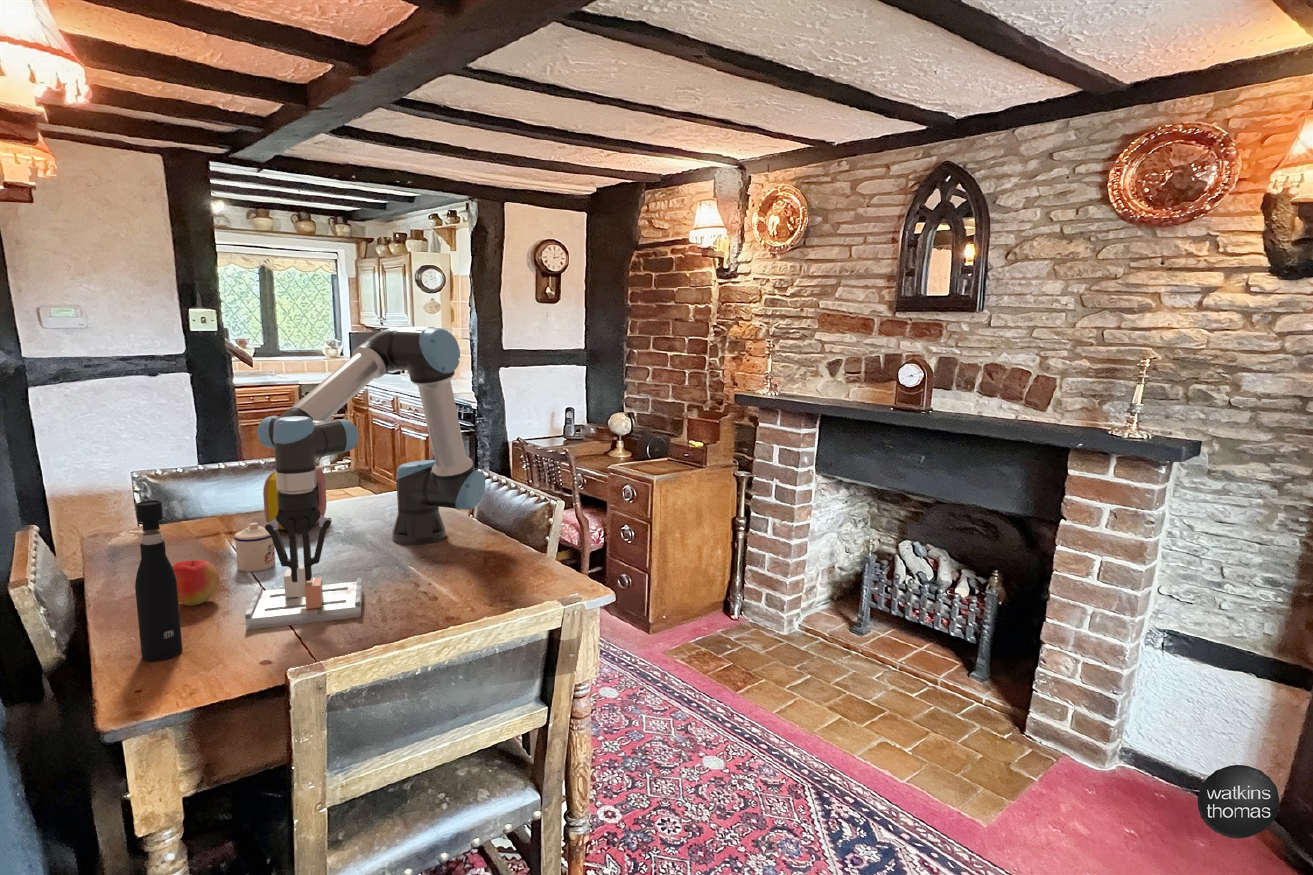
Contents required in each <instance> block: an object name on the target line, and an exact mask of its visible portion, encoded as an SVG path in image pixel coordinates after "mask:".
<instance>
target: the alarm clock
mask: <svg viewBox="0 0 1313 875" xmlns="http://www.w3.org/2000/svg"><path fill="white" fill-rule="evenodd" d="M315 469H316V487H315V488H314V489H315V490H317V506H318V510H319V511H320V513H321V516H323V517H325V514H326V511H327V487H326V486H327V485H326V477H325V473H324V472H323V470H322V469H321V468H320V467H317V466H316V468H315ZM264 481H265V482H264V484H263V492H262V494H263V510H264V519H265V522H266V524H267V523H268V522H271V521H273V520H274V519H276V515H277V514H278V500H277V493H278V492H279V490H278V489H277V483H276V470H275V471H273V472H271V473H269V474H268V476H267V478H266V479H265V480H264ZM317 524H319V521H317V522H316V524H315V525H317ZM278 525H279V528H278V530H285V529H284V528H283V527H282V526H281V525H280V524H279V523H278Z"/></svg>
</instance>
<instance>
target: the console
mask: <svg viewBox="0 0 1313 875" xmlns="http://www.w3.org/2000/svg"><path fill="white" fill-rule="evenodd" d="M322 587H323V602H322V607H320V608H311V609H306V600H305V597H301V598H298V597H289V598H285V588H281V589H280V588H279V589H268V590H263V586H258V587H256V589H255V592H254V594H253V597H252V599H251V601H250V604H249V606H248V607H247V609H246V612H245V614H244V616H245V617H244V618H245V630H246V631H249V630H252V631H253V630H258V629H260V630H261V629H267V628H276V627H277V628H278V627H284V626H292V625H293V626H294V625H301V624H310V623H319V622H328V621H329V622H330V621H337V620H344V619H352V618H353V619H354V618H360V617H361V616H362V615H361V614H362V602H363V600H362V599H363V577H357V578H356V581H352V582H351V581H350V582H348V581H347V582H341V583H340V582H339V583H332V584H331V583H330V584H329V583H328V584H322Z"/></svg>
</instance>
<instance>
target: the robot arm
mask: <svg viewBox="0 0 1313 875" xmlns="http://www.w3.org/2000/svg"><path fill="white" fill-rule="evenodd" d="M459 359H461V351H460V346H459V343H458V341H457V339H456V337H455V336H454V335H453V334H452V333H451V332H449V331H448V330H447V329H444V328H439V327H434V326H425V327H424V326H392V327H389V328H386V329H384V330H382V331H379V332H377V333H375V334H374V335H372V336H370V337H369V338H367V339H366V340H364V341H363V342H362V343H361V344H359V345H358V346H357V347H355V348H354V349H353V351H352V354H351V357H350V358H349V359H348V360H347V361H345V362H344V363H343V364H341V365H340V366H339V367H338V368H337V369H336V370H334V371H333V372H332V373H330V375H329V376H327V377H326V378H325V379H323V380H322V381H321V382H320V383H319V384H317V385H316V386H315V387H313V389H311V391H309V392H308V393H307V394H306V395H305V396H303V397H302V398H301V399H300V400H298V401H297V402H296V403H295V404H293V405H292V406H291V407H290V408H289V409H288V410H286V411H285V412H284V413H283V414H281V415H279V416H278V415H271V416H267V417H264V418H263V419H262V420H261V421H260V422H259V424H258V426H257V431H256V432H257V433H256V434H257V435H256V436H257V439H258V441H259V442H260V443H261V445H262V446H264V447H266V448H269V449H273V450H274V463H275V471H276V483H277V489H278V490H279V492H278V493H277V500H278V514H277V515H276V519H274V520H273V521H271V522H268V523H267V522H266V524H265V525H264V528H265V530H266V531H267V532H268V533H269V534H270V535H271V538H272V540H273V543H274V550H275V551H276V552H275V553H276V555H277V557H278V560H279V562H280V565H281V567H287V568H289V569H291V575H292V582H298V598H301V597H305V585H306V581H310V580H311V578H313V577H312V576H313V574H312V572H313V570H312V569H313V568H312V566H314V565H317V564H319V563H320V560H321V556H322V551H323V548H324V543H325V538H326V534H327V530H328V529H329V527H330V526H331V524H332V518H331V517H325V516H324V517H323V516H321V513H320V511H319V510H318V506H317V490H315V489H314V488H315V487H316V469H315V468H316V467H317V465H316V459H319V458H323V457H328V456H333V455H339V454H340V455H342V454H344V453H348V452H349V451H352V450H354V449H355V448H356V446H357V445H358V443H359V437H360V436H359V430H358V428H357V426H356V425H355V424H354V423H353V422H352V421H351V420H348V419H345V418H344V419H334V420H329V419H330V418H331V417H333V416H334V415H335V414H336V413H337V412H338V411H339V410H340V409H342V408H343V407H344V406H345V405H346V404H347V403H348V402H349V401H351V400H352V399H353V398H354V397H355V396H356V395H357V394H358V393H360V391H362V390H363V389H364V388H366V386H368V384H370V382H372V381H373V380H374V379H380V378H382V377H383V376H384V375H385V374H387V373H389V372H391V371H392V372H393V371H407V372H408V374H409V379H410V382H411V383H412V384H414V385H416V386H417V387H418V391H419V397H420V400H421V405H422V408H423V414H424V417H425V421H426V427H427V430H428V435H429V440H430V444H431V448H432V453H433V456H434V459H425V460H414V461H410V462H406V463H403V464H400V465H399V466H398V467H397V470H396V478H395V481H396V496H397V497H396V498H397V516H396V519H395V522H394V524H393V529H392V540H393V542H395V543H397V544H402V545H425V544H431V543H435V542H438V541H441V540H442V539H444V538H445V537H446V527H445V524H444V521H443V518H442V516H441V514H440V508H445V509H446V508H447V509H456V510H458V511H461V510H463V511H464V510H466V511H470V510H471V511H472V510H473V509H475V508H476V507H478V505H479V504H480V503H481V501H482V499H483V496H484V494H485V490H486V477H485V474H484V473H483V472H482V471H480V470H475V466H474V461H473V459H472V458H470V457H468V456H467V453H466V448H465V444H464V439H463V438H464V437H463V434H462V430H461V426H460V419H459V414H458V410H457V405H456V402H455V400H456V399H455V397H454V391H453V387H452V382H451V380H452V379H453V377H454V376H455V375H456V372H455V371H456V370H457V368H458V367H459V365H460V360H459ZM317 521H319V523H318V526H319V528H320V529H319V533H318V539H317V542H316V547H315V551H314V556H312V550H311V546H312V545H311V530H312V529H313V528H314V526H316V525H317V524H316V522H317ZM278 523H279V524H280V525H281V526H282V527H283V528H284V529H283V530H285V531H286V532H287V533H288V540H289V541H288V542H289V557H290V558H289V557H288V554H287V552H286V548H285V546H284V543H283V538H282V536H281V534H280V531H279V529H278V528H279V525H278ZM298 533H301V537H302V549H303V550H302V554H303V564H299V557H298V556H299V554H298V553H299V551H298Z"/></svg>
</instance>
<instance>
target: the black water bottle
mask: <svg viewBox="0 0 1313 875" xmlns="http://www.w3.org/2000/svg"><path fill="white" fill-rule="evenodd" d="M135 508H136V509H135V510H136V511H135V512H136V520H137V522H138V523H142V524H141V525H142V532H143V533H141V537H140V539H141V540H140V541H141V543H140V545H139V547H140V558H141V559H140V562H139V565H138V568H137V572H136V577H135V585H134V589H135V599H136V602H135V603H136V610H137V621H138V632H139V641H140V644H139V645H140V653H141V654H140V655H141V660H142V661H145V662H148V663H149V662H150V663H151V662H152V663H153V662H155V663H156V662H161V661H166V660H170V659H173V658H175V657H177V656H179V655H180V654H181V653H182V652H183V639H182V629H181V628H182V627H181V618H180V604H179V603H180V602H178V591H177V580H176V576H175V573H174V570H173V567H172V566H173V565H172V564H171V562H170V560H169V558H168V557H167V554H166V543H165V542H166V541H165V540H163V539H164V538H163V535H164V534H163V533H162V531H160V529H161V527H160V521H161V520H163V518H164V516H163V504H162V501H161V500H155V499H153V500H143V501H140V502H137V503H136V504H135Z"/></svg>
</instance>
